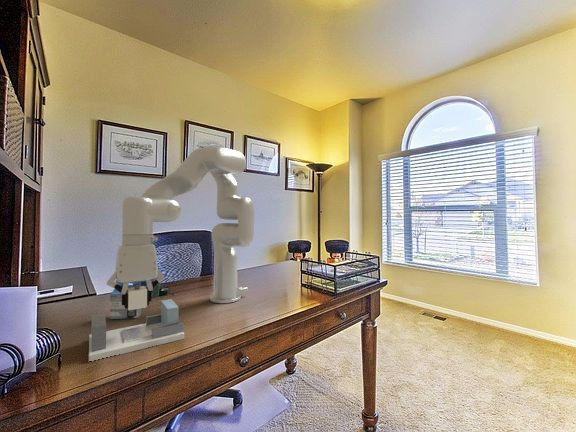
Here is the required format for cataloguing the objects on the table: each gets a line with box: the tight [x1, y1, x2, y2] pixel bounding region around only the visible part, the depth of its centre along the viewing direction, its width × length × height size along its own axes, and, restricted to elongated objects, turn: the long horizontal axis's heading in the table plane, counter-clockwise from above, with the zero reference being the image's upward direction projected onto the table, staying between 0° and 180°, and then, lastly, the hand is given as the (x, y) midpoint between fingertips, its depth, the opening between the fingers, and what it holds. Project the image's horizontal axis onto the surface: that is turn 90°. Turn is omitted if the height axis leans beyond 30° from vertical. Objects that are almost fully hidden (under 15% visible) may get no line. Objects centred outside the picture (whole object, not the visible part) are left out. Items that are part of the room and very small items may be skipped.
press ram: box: [160, 298, 180, 326], centre depth 83 cm, size 3×9×7 cm, turn 35°
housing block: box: [127, 283, 148, 310], centre depth 77 cm, size 4×4×6 cm
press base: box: [88, 322, 185, 362], centre depth 78 cm, size 22×14×2 cm, turn 125°
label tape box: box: [109, 279, 142, 320], centre depth 94 cm, size 9×4×12 cm, turn 95°
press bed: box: [91, 312, 184, 352], centre depth 78 cm, size 22×11×6 cm, turn 125°
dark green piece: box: [151, 281, 175, 298], centre depth 122 cm, size 15×15×6 cm
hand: (136, 305), depth 77 cm, fingers closed on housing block, 4 cm apart
